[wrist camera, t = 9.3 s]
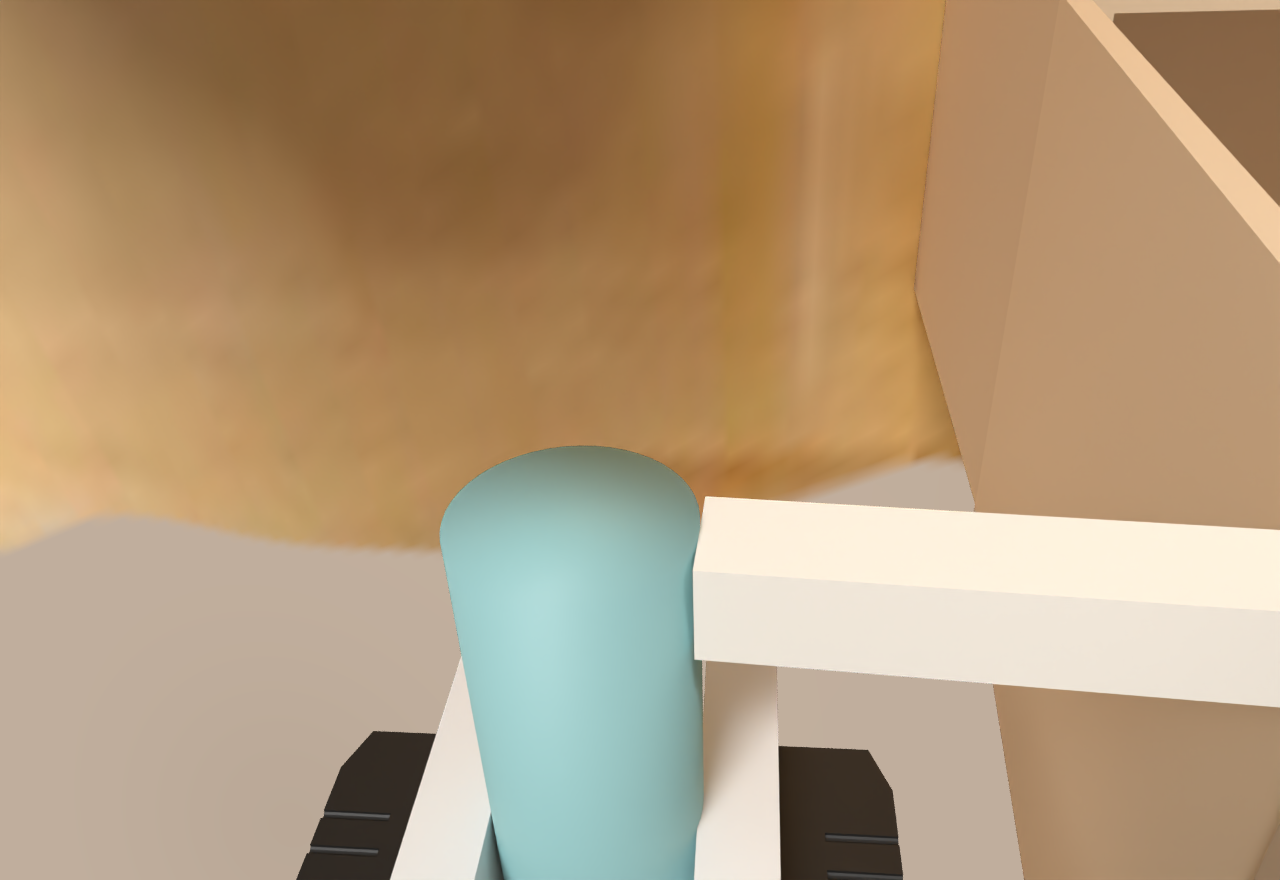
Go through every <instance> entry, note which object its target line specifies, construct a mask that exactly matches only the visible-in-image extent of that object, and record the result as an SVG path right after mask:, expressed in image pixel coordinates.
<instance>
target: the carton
mask: <svg viewBox="0 0 1280 880" xmlns="http://www.w3.org/2000/svg"><path fill="white" fill-rule="evenodd" d="M1093 1H1094V2H1095V3H1096V4H1097V6H1098V7H1099V8H1100V9H1101V10H1102V11H1103V12H1104V13H1105V14H1106V16H1107V17H1108V18H1109V19H1110V20H1111V21H1112V22H1113V23H1114V24H1115V26H1116V27H1117V28H1118V29H1119V30H1120V31H1121V32H1122V33H1123V34H1124V35H1125V37H1126V38H1127V39H1128V40H1129V41H1130V42H1131V43H1132V44H1133V45H1134V47H1135V48H1136V49H1137V50H1138V51H1139V52H1140V53H1141V54H1142V55H1143V56H1144V58H1145V59H1146V60H1147V61H1148V62H1149V63H1150V64H1151V65H1152V66H1153V68H1154V69H1155V70H1156V71H1157V72H1158V73H1159V74H1160V75H1161V76H1162V78H1163V79H1164V80H1165V81H1166V82H1167V83H1168V84H1169V85H1170V86H1171V87H1172V89H1173V90H1174V91H1175V92H1176V93H1177V94H1178V95H1179V96H1180V97H1181V99H1182V100H1183V101H1184V102H1185V103H1186V104H1187V105H1188V106H1189V107H1190V108H1191V110H1192V111H1193V112H1194V113H1195V114H1196V115H1197V116H1198V117H1199V118H1200V120H1201V121H1202V122H1203V123H1204V124H1205V125H1206V126H1207V127H1208V128H1209V129H1210V131H1211V132H1212V133H1213V134H1214V135H1215V136H1216V137H1217V138H1218V139H1219V141H1220V142H1221V143H1222V144H1223V145H1224V146H1225V147H1226V148H1227V149H1228V151H1229V152H1230V153H1231V154H1232V155H1233V156H1234V157H1235V158H1236V159H1237V160H1238V162H1239V163H1240V164H1241V165H1242V166H1243V167H1244V168H1245V169H1246V170H1247V172H1248V173H1249V174H1250V175H1251V176H1252V177H1253V178H1254V179H1255V180H1256V181H1257V183H1258V184H1259V185H1260V186H1261V187H1262V188H1263V189H1264V190H1265V191H1266V193H1267V194H1268V195H1269V196H1270V197H1271V198H1272V199H1273V200H1274V201H1275V203H1276V204H1277V205H1278V206H1279V207H1280V0H1093ZM1058 6H1059V0H946V5H945V14H944V23H943V32H942V41H941V50H940V59H939V68H938V77H937V86H936V95H935V104H934V113H933V122H932V131H931V140H930V149H929V158H928V167H927V176H926V185H925V194H924V202H923V211H922V220H921V229H920V238H919V247H918V256H917V265H916V274H915V283H914V291H915V294H916V298H917V301H918V305H919V308H920V312H921V315H922V319H923V322H924V326H925V329H926V333H927V336H928V340H929V343H930V347H931V350H932V354H933V357H934V361H935V364H936V368H937V371H938V375H939V378H940V382H941V385H942V389H943V392H944V396H945V399H946V403H947V407H948V410H949V414H950V417H951V421H952V424H953V428H954V431H955V435H956V438H957V442H958V445H959V449H960V452H961V456H962V459H963V463H964V466H965V470H966V473H967V477H968V480H969V484H970V487H971V491H972V494H973V498H974V501H975V502H976V496H977V490H978V484H979V479H980V473H981V467H982V461H983V455H984V449H985V443H986V437H987V431H988V425H989V419H990V413H991V407H992V401H993V395H994V389H995V383H996V377H997V371H998V365H999V359H1000V353H1001V347H1002V341H1003V335H1004V329H1005V323H1006V317H1007V311H1008V305H1009V299H1010V293H1011V287H1012V281H1013V275H1014V269H1015V263H1016V257H1017V251H1018V245H1019V239H1020V233H1021V227H1022V221H1023V215H1024V209H1025V203H1026V197H1027V192H1028V186H1029V180H1030V174H1031V168H1032V162H1033V156H1034V150H1035V144H1036V138H1037V132H1038V126H1039V120H1040V114H1041V108H1042V102H1043V96H1044V90H1045V84H1046V78H1047V72H1048V66H1049V60H1050V54H1051V48H1052V42H1053V36H1054V30H1055V24H1056V18H1057V12H1058Z"/></svg>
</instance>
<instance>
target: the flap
mask: <svg viewBox="0 0 1280 880" xmlns="http://www.w3.org/2000/svg"><path fill="white" fill-rule="evenodd" d="M440 545H441V550H442V555H443V561H444V566H445V571H446V576H447V581H448V587H449V592H450V598H451V603H452V608H453V614H454V619H455V624H456V629H457V635H458V639H459V645H460V650H461V656H462V661H463V666H464V672H465V677H466V682H467V688H468V693H469V698H470V703H471V709H472V714H473V719H474V725H475V730H476V735H477V740H478V746H479V751H480V756H481V762H482V767H483V772H484V777H485V783H486V788H487V793H488V799H489V804H490V809H491V814H492V820H493V825H494V830H495V836H496V841H497V846H498V851H499V857H500V862H501V867H502V873H503V878H504V880H694V872H695V854H696V836H697V827H698V824H699V821H700V819H701V815H702V810H703V801H704V771H703V699H702V660H707V661H719V662H731V663H743V664H755V665H768V666H781V667H792V668H804V669H817V670H829V671H841V672H853V673H866V674H878V675H890V676H902V677H915V678H928V679H939V680H951V681H963V682H975V683H988V684H993V688H994V694H995V700H996V706H997V713H998V718H999V725H1000V731H1001V738H1002V743H1003V749H1004V756H1005V763H1006V769H1007V774H1008V781H1009V787H1010V793H1011V800H1012V806H1013V813H1014V819H1015V825H1016V831H1017V837H1018V844H1019V850H1020V856H1021V863H1022V869H1023V875H1024V880H1280V207H1279V206H1278V205H1277V204H1276V203H1275V201H1274V200H1273V199H1272V198H1271V197H1270V196H1269V195H1268V194H1267V193H1266V191H1265V190H1264V189H1263V188H1262V187H1261V186H1260V185H1259V184H1258V183H1257V181H1256V180H1255V179H1254V178H1253V177H1252V176H1251V175H1250V174H1249V173H1248V172H1247V170H1246V169H1245V168H1244V167H1243V166H1242V165H1241V164H1240V163H1239V162H1238V160H1237V159H1236V158H1235V157H1234V156H1233V155H1232V154H1231V153H1230V152H1229V151H1228V149H1227V148H1226V147H1225V146H1224V145H1223V144H1222V143H1221V142H1220V141H1219V139H1218V138H1217V137H1216V136H1215V135H1214V134H1213V133H1212V132H1211V131H1210V129H1209V128H1208V127H1207V126H1206V125H1205V124H1204V123H1203V122H1202V121H1201V120H1200V118H1199V117H1198V116H1197V115H1196V114H1195V113H1194V112H1193V111H1192V110H1191V108H1190V107H1189V106H1188V105H1187V104H1186V103H1185V102H1184V101H1183V100H1182V99H1181V97H1180V96H1179V95H1178V94H1177V93H1176V92H1175V91H1174V90H1173V89H1172V87H1171V86H1170V85H1169V84H1168V83H1167V82H1166V81H1165V80H1164V79H1163V78H1162V76H1161V75H1160V74H1159V73H1158V72H1157V71H1156V70H1155V69H1154V68H1153V66H1152V65H1151V64H1150V63H1149V62H1148V61H1147V60H1146V59H1145V58H1144V56H1143V55H1142V54H1141V53H1140V52H1139V51H1138V50H1137V49H1136V48H1135V47H1134V45H1133V44H1132V43H1131V42H1130V41H1129V40H1128V39H1127V38H1126V37H1125V35H1124V34H1123V33H1122V32H1121V31H1120V30H1119V29H1118V28H1117V27H1116V26H1115V24H1114V23H1113V22H1112V21H1111V20H1110V19H1109V18H1108V17H1107V16H1106V14H1105V13H1104V12H1103V11H1102V10H1101V9H1100V8H1099V7H1098V6H1097V4H1096V3H1095V2H1094V1H1093V0H1059V6H1058V12H1057V18H1056V24H1055V30H1054V36H1053V42H1052V48H1051V54H1050V60H1049V66H1048V72H1047V78H1046V84H1045V90H1044V96H1043V102H1042V108H1041V114H1040V120H1039V126H1038V132H1037V138H1036V144H1035V150H1034V156H1033V162H1032V168H1031V174H1030V180H1029V186H1028V192H1027V197H1026V203H1025V209H1024V215H1023V221H1022V227H1021V233H1020V239H1019V245H1018V251H1017V257H1016V263H1015V269H1014V275H1013V281H1012V287H1011V293H1010V299H1009V305H1008V311H1007V317H1006V323H1005V329H1004V335H1003V341H1002V347H1001V353H1000V359H999V365H998V371H997V377H996V383H995V389H994V395H993V401H992V407H991V413H990V419H989V425H988V431H987V437H986V443H985V449H984V455H983V461H982V467H981V473H980V479H979V484H978V490H977V496H976V502H975V508H974V512H964V511H946V510H930V509H912V508H894V507H877V506H861V505H844V504H826V503H810V502H793V501H776V500H759V499H742V498H725V497H708V496H705V502H704V508H703V513H702V519H701V525H700V513H699V506H698V503H697V500H696V498H695V495H694V494H693V492H692V490H691V489H690V487H689V486H688V485H687V483H686V482H685V481H684V480H683V479H682V478H681V477H680V476H679V475H678V474H676V473H675V472H674V471H673V470H671V469H670V468H668V467H667V466H665V465H663V464H662V463H660V462H658V461H656V460H653V459H651V458H649V457H646V456H643V455H641V454H638V453H634V452H630V451H627V450H622V449H616V448H611V447H601V446H566V447H557V448H550V449H545V450H540V451H535V452H531V453H528V454H524V455H521V456H518V457H515V458H512V459H510V460H507V461H504V462H502V463H500V464H498V465H496V466H494V467H492V468H490V469H488V470H487V471H485V472H483V473H482V474H480V475H479V476H477V477H476V478H474V479H473V480H472V481H470V482H469V483H468V484H467V485H466V486H465V487H464V488H463V489H461V490H460V491H459V493H458V494H457V495H456V496H455V497H454V499H453V500H452V501H451V503H450V504H449V506H448V508H447V509H446V511H445V514H444V516H443V519H442V522H441V527H440Z"/></svg>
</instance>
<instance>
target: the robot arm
mask: <svg viewBox="0 0 1280 880" xmlns="http://www.w3.org/2000/svg"><path fill="white" fill-rule="evenodd" d="M703 771H704V801H703V810H702V815H701V819H700V821H699V824H698V827H697V836H696V854H695V872H694V880H903V871H902V863H901V855H900V847H899V845H898V831H897V823H896V815H895V807H894V800H893V791H892V789H891V787H890V786H889V784H888V782H887V781H886V779H885V778H884V776H883V774H882V773H881V771H880V769H879V767H878V766H877V764H876V762H875V761H874V759H873V758H872V756H871V754H870V753H869V751H868V750H856V749H833V748H831V749H830V748H809V747H787V746H778V704H777V666H768V665H755V664H743V663H731V662H719V661H707V660H706V677H705V694H704V712H703ZM310 845H311V848H310V852H309V853H307V854H306V857H305V859H304V862H303V864H302V867H301V869H300V872H299V874H298V877H297V879H296V880H504V878H503V873H502V867H501V862H500V857H499V851H498V846H497V841H496V836H495V830H494V825H493V820H492V814H491V809H490V804H489V799H488V793H487V788H486V783H485V777H484V772H483V767H482V762H481V756H480V751H479V746H478V740H477V735H476V730H475V725H474V719H473V714H472V709H471V703H470V698H469V693H468V688H467V682H466V677H465V672H464V666H463V661H462V656H461V658H460V661H459V664H458V667H457V670H456V674H455V677H454V680H453V683H452V686H451V690H450V693H449V696H448V699H447V702H446V705H445V708H444V711H443V715H442V718H441V721H440V724H439V727H438V730H437V733H436V734H427V733H404V732H380V731H378V732H377V731H373V732H372V733H371V735H370V736H369V737H368V738H367V739H366V740H365V741H364V742H363V743H362V744H361V746H360V747H359V748H358V749H357V750H356V751H355V752H354V754H353V755H352V756H351V757H350V758H349V759H348V760H347V761H346V763H344V765H343V766H342V767H341V769H340V771H339V774H338V776H337V779H336V781H335V784H334V786H333V789H332V791H331V794H330V796H329V799H328V801H327V804H326V806H325V809H324V817H323V818H321V820H320V822H319V824H318V827H317V829H316V832H315V834H314V837H313V840H312V842H311V844H310Z"/></svg>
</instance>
